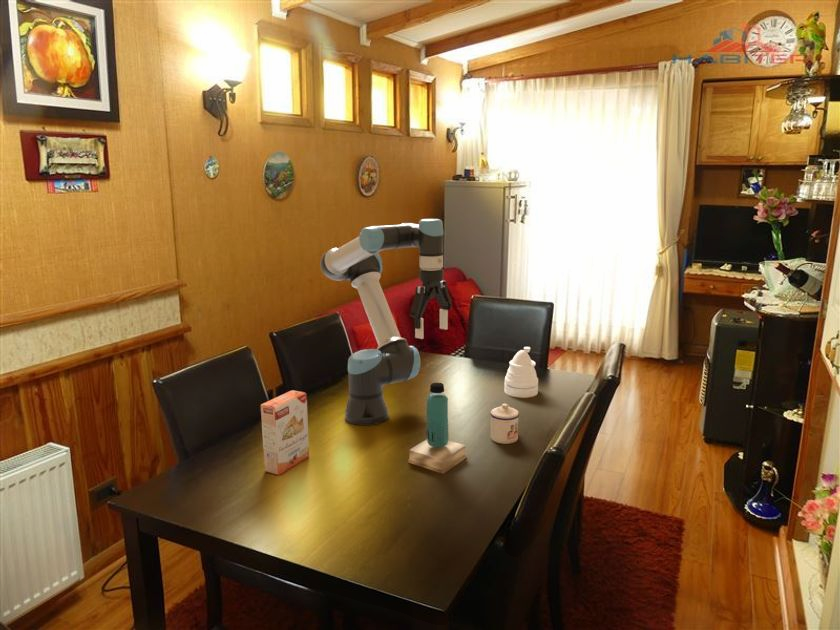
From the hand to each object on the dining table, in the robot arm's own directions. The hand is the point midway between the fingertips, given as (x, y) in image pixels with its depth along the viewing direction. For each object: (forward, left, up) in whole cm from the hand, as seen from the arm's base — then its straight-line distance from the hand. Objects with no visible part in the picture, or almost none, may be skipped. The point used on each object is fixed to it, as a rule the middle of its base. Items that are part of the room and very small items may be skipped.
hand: (431, 333), depth 202 cm
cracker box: (-20, -46, -33) cm, 60 cm away
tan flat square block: (+15, -19, -33) cm, 41 cm away
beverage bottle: (+15, -19, -29) cm, 38 cm away
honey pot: (+9, +47, -33) cm, 58 cm away
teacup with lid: (+24, +7, -33) cm, 41 cm away
